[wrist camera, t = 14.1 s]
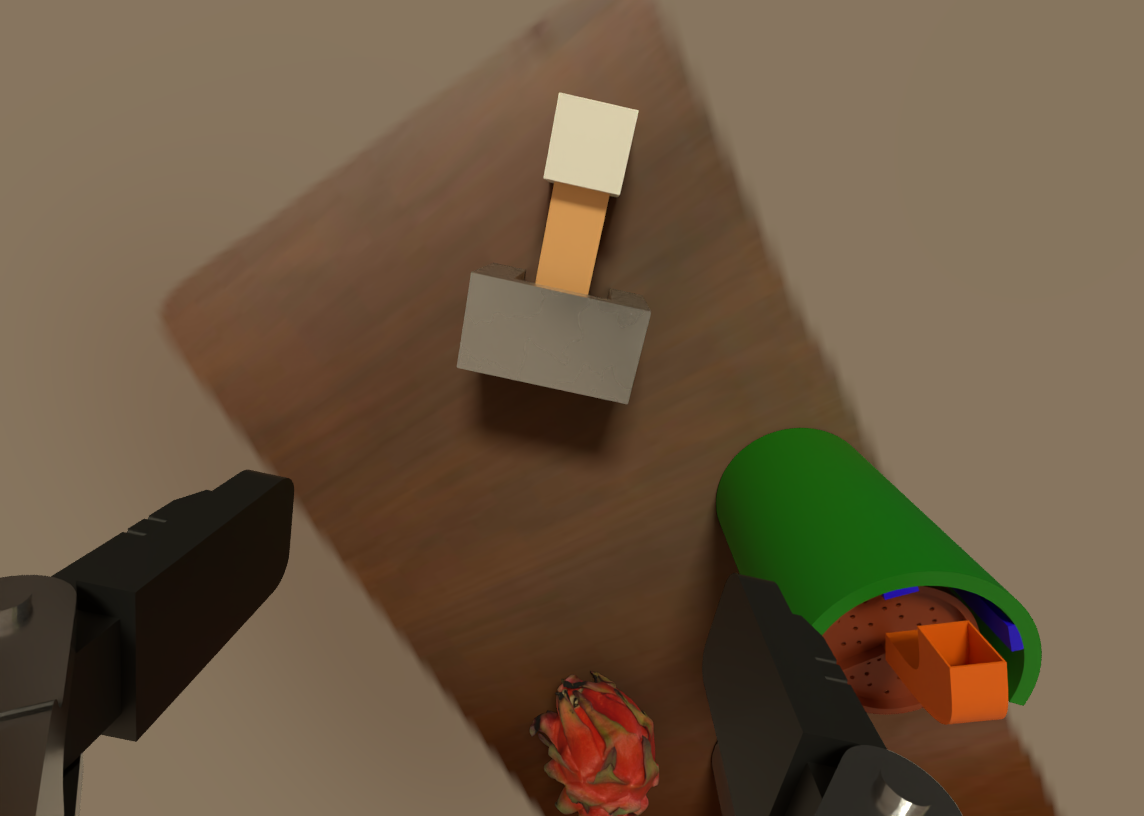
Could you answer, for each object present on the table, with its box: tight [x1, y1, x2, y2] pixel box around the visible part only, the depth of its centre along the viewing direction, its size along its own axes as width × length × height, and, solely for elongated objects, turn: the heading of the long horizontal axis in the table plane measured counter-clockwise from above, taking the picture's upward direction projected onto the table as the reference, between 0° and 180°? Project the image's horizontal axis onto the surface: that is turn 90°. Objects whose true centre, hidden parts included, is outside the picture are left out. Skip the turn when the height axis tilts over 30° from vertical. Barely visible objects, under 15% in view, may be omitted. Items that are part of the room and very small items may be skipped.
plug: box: [535, 92, 639, 295], centre depth 33 cm, size 15×4×4 cm, turn 168°
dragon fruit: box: [530, 671, 659, 816], centre depth 42 cm, size 8×8×12 cm
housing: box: [457, 263, 651, 404], centre depth 33 cm, size 5×9×6 cm, turn 78°
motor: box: [716, 428, 1042, 725], centre depth 29 cm, size 10×9×20 cm
